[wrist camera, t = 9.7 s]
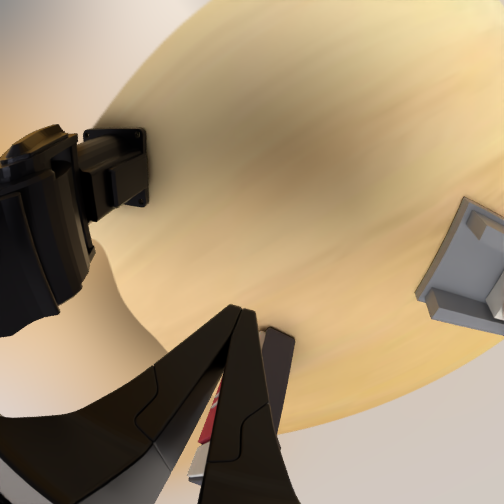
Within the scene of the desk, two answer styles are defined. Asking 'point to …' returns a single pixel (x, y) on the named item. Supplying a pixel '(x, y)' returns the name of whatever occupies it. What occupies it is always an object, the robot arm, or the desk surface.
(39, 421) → the robot arm
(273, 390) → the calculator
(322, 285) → the desk surface
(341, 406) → the desk surface
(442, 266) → the mount
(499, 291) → the teal-lidded white jar
